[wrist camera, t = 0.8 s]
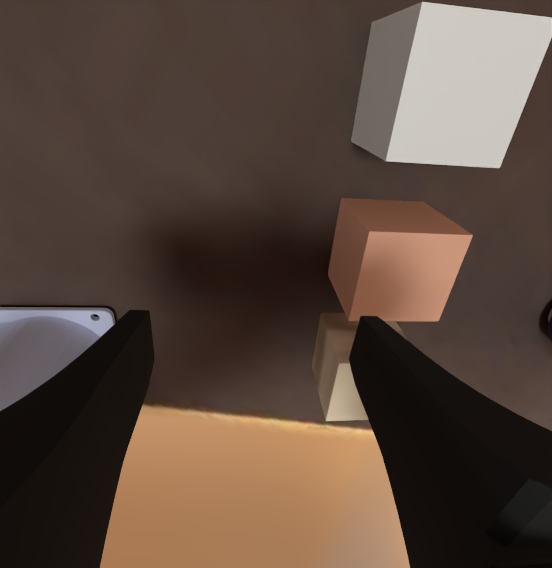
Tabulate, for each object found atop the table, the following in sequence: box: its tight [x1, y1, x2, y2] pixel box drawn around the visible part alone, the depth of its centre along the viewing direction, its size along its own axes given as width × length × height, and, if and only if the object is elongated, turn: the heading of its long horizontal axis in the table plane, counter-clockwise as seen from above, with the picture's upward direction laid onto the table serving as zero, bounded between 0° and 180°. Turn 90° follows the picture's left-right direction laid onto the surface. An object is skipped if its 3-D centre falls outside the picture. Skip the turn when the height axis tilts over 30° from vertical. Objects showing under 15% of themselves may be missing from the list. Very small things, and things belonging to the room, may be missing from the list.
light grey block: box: [351, 2, 552, 168], centre depth 15 cm, size 5×5×5 cm
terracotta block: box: [328, 198, 473, 321], centre depth 19 cm, size 5×5×5 cm
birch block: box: [312, 312, 408, 421], centre depth 23 cm, size 5×5×5 cm
